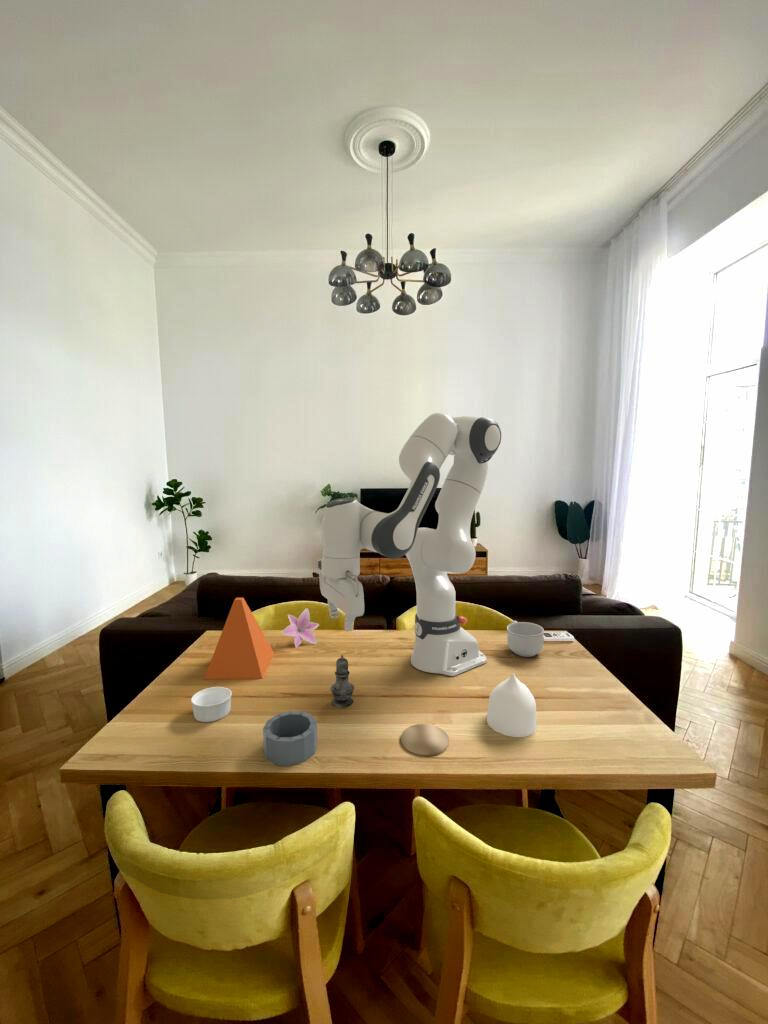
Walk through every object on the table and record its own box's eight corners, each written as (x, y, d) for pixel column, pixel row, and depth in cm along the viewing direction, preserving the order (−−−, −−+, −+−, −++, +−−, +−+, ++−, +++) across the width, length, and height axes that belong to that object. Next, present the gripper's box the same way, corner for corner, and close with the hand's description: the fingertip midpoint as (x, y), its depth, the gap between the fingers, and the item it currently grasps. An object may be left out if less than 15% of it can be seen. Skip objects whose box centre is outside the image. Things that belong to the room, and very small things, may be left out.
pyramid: (274, 654, 137) (273, 590, 135) (262, 679, 121) (260, 607, 119) (222, 654, 137) (219, 590, 134) (203, 680, 121) (200, 608, 119)
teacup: (548, 660, 133) (549, 634, 132) (511, 660, 133) (512, 634, 132) (533, 641, 146) (534, 618, 145) (499, 641, 146) (500, 617, 146)
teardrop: (531, 743, 94) (533, 689, 92) (480, 728, 99) (481, 676, 98) (541, 717, 103) (543, 667, 102) (493, 704, 109) (495, 657, 107)
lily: (275, 650, 142) (282, 629, 138) (282, 623, 152) (289, 603, 148) (312, 659, 144) (320, 638, 140) (316, 632, 154) (324, 612, 150)
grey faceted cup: (307, 728, 99) (307, 706, 98) (323, 755, 90) (322, 732, 89) (259, 741, 94) (259, 718, 94) (270, 771, 85) (270, 747, 84)
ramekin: (191, 707, 107) (190, 690, 107) (230, 700, 111) (230, 683, 110) (191, 728, 99) (190, 709, 99) (234, 719, 103) (233, 701, 102)
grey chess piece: (344, 711, 106) (344, 662, 104) (325, 703, 109) (324, 656, 107) (359, 699, 111) (359, 653, 109) (340, 693, 114) (339, 647, 112)
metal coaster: (432, 722, 101) (432, 719, 101) (458, 747, 92) (458, 744, 92) (392, 733, 97) (392, 731, 97) (416, 761, 88) (416, 758, 88)
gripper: (371, 575, 98) (371, 636, 100) (338, 557, 116) (338, 609, 118) (344, 578, 95) (344, 641, 97) (314, 559, 114) (315, 612, 115)
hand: (340, 623), depth 108 cm, fingers open, 8 cm apart
